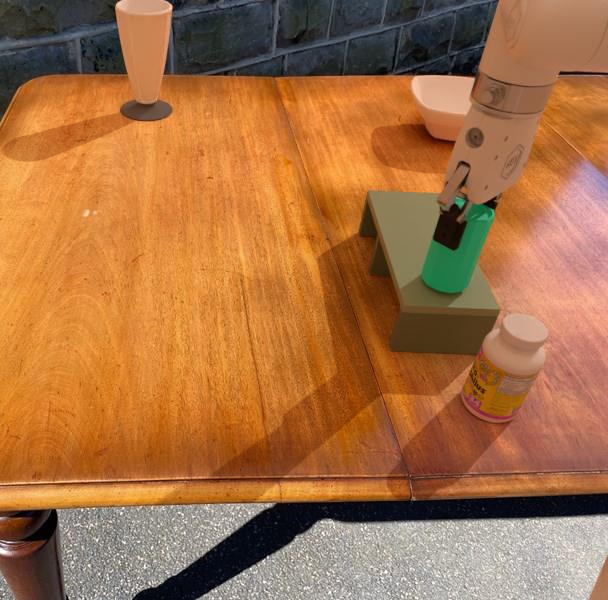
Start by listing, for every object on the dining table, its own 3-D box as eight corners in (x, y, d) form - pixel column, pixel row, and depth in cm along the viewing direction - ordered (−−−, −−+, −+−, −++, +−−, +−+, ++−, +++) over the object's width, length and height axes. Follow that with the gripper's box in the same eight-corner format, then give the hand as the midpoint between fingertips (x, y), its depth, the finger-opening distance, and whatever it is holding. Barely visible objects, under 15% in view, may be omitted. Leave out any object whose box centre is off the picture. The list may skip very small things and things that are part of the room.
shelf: (481, 355, 84) (501, 309, 79) (390, 351, 84) (404, 305, 79) (430, 235, 105) (443, 193, 100) (358, 232, 105) (367, 189, 100)
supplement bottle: (455, 380, 80) (488, 303, 72) (509, 387, 80) (548, 310, 71) (464, 421, 75) (500, 343, 67) (522, 429, 74) (566, 351, 66)
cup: (177, 119, 136) (178, 13, 122) (124, 122, 134) (118, 14, 120) (167, 97, 145) (167, -4, 131) (117, 100, 142) (111, -3, 128)
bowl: (488, 116, 143) (501, 79, 137) (513, 159, 127) (528, 119, 122) (396, 109, 144) (405, 72, 138) (409, 151, 128) (419, 111, 123)
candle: (474, 294, 80) (507, 212, 72) (427, 292, 79) (454, 210, 72) (460, 265, 84) (489, 185, 76) (415, 263, 84) (440, 183, 76)
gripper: (500, 124, 59) (447, 276, 71) (583, 83, 68) (523, 224, 80) (432, 98, 64) (392, 246, 75) (518, 63, 72) (470, 199, 84)
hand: (460, 233), depth 77 cm, fingers closed on candle, 5 cm apart
